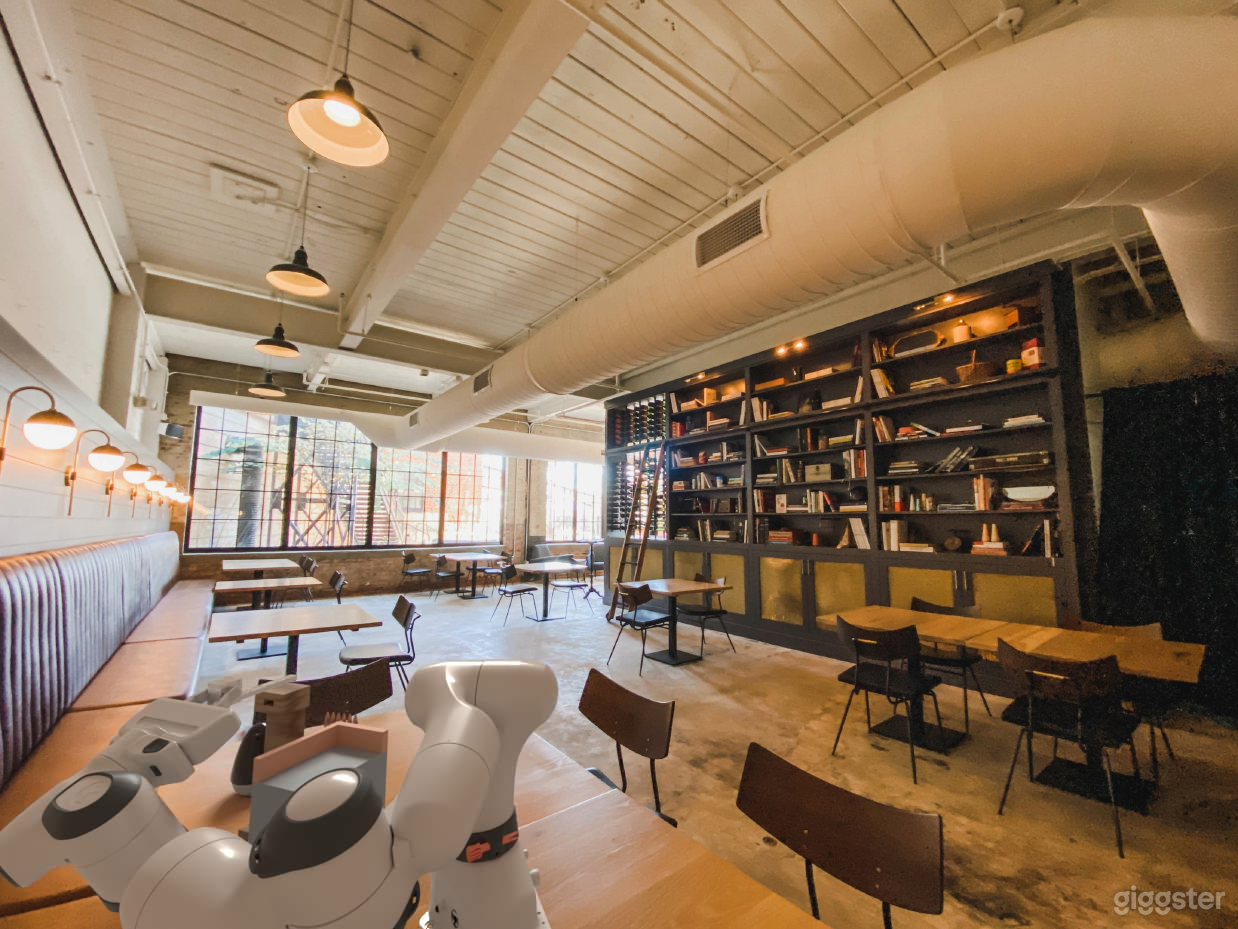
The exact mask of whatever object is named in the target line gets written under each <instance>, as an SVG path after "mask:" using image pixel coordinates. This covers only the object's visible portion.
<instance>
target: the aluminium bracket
mask: <svg viewBox="0 0 1238 929" xmlns="http://www.w3.org/2000/svg"><path fill="white" fill-rule="evenodd" d="M296 680H298V675H296V674H287V675H284V676H282V677H278V678H277V679H273V680H270V681H267V682H265V683H261V684H259V685H257V686H253V687H250V688H247V689H245V690H243V678H242V677H235V676H227V677H223V678H220V679H217V680H214V681H210V682H208V683H207V687H208V695H207V701H206V705H212V704H213V703H215V702H216V701H217V702H219V701H220V699H221V698H222V697H223V696H224V695H223V694H222V693H223V692H224V691H226V690H227V689H228V688H229V687H238V688H239V690H240V691H241V694H240V696H239V697H237V698H236V699H235V700H234V701H233V702H232V704H231V706H233V705H235V704H239V703H240V702H243V700H245V699H247V698H250V697H253V696H255V695H256V694H259V693H261V692H264V691H267V690H270V689H272V688H275V687H278V686H281V685H283V684H286V683H292V682H294V681H296Z"/></svg>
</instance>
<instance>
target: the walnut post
mask: <svg viewBox="0 0 1238 929" xmlns="http://www.w3.org/2000/svg"><path fill="white" fill-rule="evenodd" d="M310 699H311V685H308V684H300V683H294V682H289V683H286V684H283V685H281V686H278V687H275V688H272V689H270V690H267V691H264V692H261V693H259V694H256V695H254V706H253V712H256V713H261V714H262V713H263V714H266V719H265V722H266V731H265V745H264V753H267V752H269V751H271V750H273V749H276V748H278V747H280V746H283V745H285V744H287V743H290V742H292V741H294V740H296V739H299V738H301V737H303V736H305V725H306V724H305V723H306V708H308V707H309V706H310ZM248 835H249V823H248V824H245V825H244V826H243V827H241V828H239V829H238V831H237V836H239V837H241V838H242V839H244V840H245V841H247V840H248Z"/></svg>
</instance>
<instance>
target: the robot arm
mask: <svg viewBox="0 0 1238 929" xmlns="http://www.w3.org/2000/svg"><path fill="white" fill-rule="evenodd" d="M556 676H557V675H555V673H554V670H553V669H552V668H551V666H550V665H549V664H547V663H544V662H540V661H537V660H532V659H531V660H530V659H525V658H501V659H499V658H495V659H494V658H493V659H488V658H487V659H455V660H454V659H449V660H448V659H447V660H443V661H439V662H434V663H430V664H426V665H422V666H420V667H419V668H418V669H417V670H416V671H415V672H414V673H413V674H412V676H411V678H410V680H409V682H408V683H407V685H406V689H405V693H404V709H405V712H406V715H407V717H408V720H409V721H410V722H411V723H412V725H414V726H416V727H418V728H419V729H420V730H421V731H423V732H424V736H423V738H422V741H421V743H420V746H419V748H418V750H417V752H416V754H415V756H414V758H413V760H412V762H411V764H410V766H409V767H408V768H409V769H408V770H407V771H406V772H407V773H406V775H405V777H404V778H403V781H402V784H401V786H400V789H399V792H398V793H397V794H396V796H395V797H394V799H392V800H391V801H390V803H389V804H388V805H387V806H385V809H383V797H382V795H381V792H380V790H379V788H378V786H377V784H376V783H375V781H374V780H373V778H372V777H371V775H370V774H369V773H368V772H367V771H365V770H364V769H361V768H348V767H344V768H337V769H333V770H329V771H326V772H324V773H321V774H319V775H317V776H315V777H313V778H312V779H310V780H308V781H307V782H305V783H304V784H302V785H301V786H300V787H299V788H297V789H296V790H295V791H294V792H293V793H292V794H291V795H290V796H289V797H288V798H287V799H286V800H285V802H284V803H283V804H282V805H281V806H280V807H279V808H278V810H277V811H276V812H275V813H274V815H273V816H272V818H271V819H270V821H269V823H268V824H267V825H266V826H265V827H264V828H263V829H262V831H261V832H260V833H259V835H258V836H257V838H256V839H255V841H254V843H253V845H251V844H250V843H248V841H247V840H244V839H242V838H241V837H239V836H238V834H235V833H233V832H231V831H228V830H227V829H222V828H218V827H210V826H203V827H201V826H200V827H197V828H193V829H190V830H189V829H188V828H187V827H186V826H185V825H184V824H182V822H180V820H179V819H178V818H177V817H176V815H175V814H174V812H173V811H172V809H171V808H170V807H169V806H168V804H167V803H166V802H165V801H164V799H163V798H162V797H161V796H160V794H159V793H158V791H157V790H156V789H157V788H159V787H162V786H168V785H174V784H180V783H183V782H185V781H187V780H188V779H189V778H190V777H191V776H192V775H193V774H194V773H195V771H196V769H195V767H194V766H197V765H200V764H202V763H204V762H205V761H206V760H208V759H209V758H210V757H212V756H213V755H214V754H216V753H217V752H218V750H220V749H221V748H222V747H223V746H224V745H225V744H226V743H227V742H228V741H230V740H231V739H232V738H233V737H234V736H235V735H236V734H237V732H239V730H240V727H241V726H242V721H241V719H240V717H239V715H238V713H237V712H236V711H235V709H233V708H230V707H231V706H232V705H231V704H232V702H233V701H234V700H235V699H236V698H237V697H239V696H240V694H241V691H240V690H239V688H238V687H229V688H228V689H227V690H226V691H224V692H223V693H222V694H223V695H224V696H223V697H222V698H221V699H220V701H219V702H217V701H216V702H215V703H213V704H212V705H207V704H205V703H207V695H208V686H206V688H205V689H203V690H201V691H199V692H196V693H194V694H192V695H190V696H188V697H187V698H185V699H184V700H181V699H175V698H170V697H159V698H157V699H155V700H152V701H151V702H150V703H149V704H147V705H146V706H145V707H143V708H142V709H140V710H139V711H138V712H137V713H136V714H135V715H133V716H132V717H131V718H130V719H128V720H127V721H126V722H125V723H124V724H123V725H122V726H121V727H120V728H119V729H118V733H117V735H115V736H113V737H112V739H111V740H110V742H109V744H108V746H107V747H105V748H104V749H102V751H100V752H99V753H97V754H96V755H94V757H92V758H91V759H90V760H89V762H88V763H86V765H84V767H83V768H81V770H79V771H78V772H77V773H75V774H74V775H72V776H70V777H68V778H66V779H64V780H63V781H60V782H59V783H58V784H56V785H55V786H54V787H52V788H51V789H49V790H48V791H47V792H45V793H44V794H43V795H42V796H40V797H39V798H38V799H37V800H36V801H34V802H33V803H32V804H30V805H29V806H27V807H26V808H25V809H24V810H23V811H22V812H20V813H19V814H18V815H17V816H16V817H14V819H12V820H11V821H10V822H9V823H8V824H7V825H5V827H3V829H1V830H0V876H1V877H2V878H3V879H4V880H5V881H6V882H7V883H9V884H10V885H12V886H14V887H15V888H27V887H28V886H30V885H32V884H33V883H35V882H36V881H38V880H39V879H41V878H42V877H43V876H45V875H46V874H48V873H49V872H51V871H52V870H53V869H54V868H57V867H67V866H68V867H69V865H71V866H72V868H73V869H74V870H75V871H76V872H77V873H78V874H79V875H80V876H81V878H82V879H83V880H84V881H85V882H86V883H87V884H88V885H89V886H90V887H91V889H93V891H94V892H95V893H96V895H97V896H98V898H99V900H100V901H101V902H102V904H103V905H104V907H105V908H106V909H107V911H109V912H110V913H111V912H112V913H117V914H119V918H120V924H121V928H122V929H405V928H406V926H407V922H408V921H409V920H410V918H412V916H413V915H414V914H415V912H417V909H418V907H419V904H420V899H421V886H420V882H419V879H420V878H421V877H423V876H424V875H426V874H430V873H431V876H430V888H429V897H428V898H429V899H428V900H429V901H428V909H427V911H426V912H425V913H424V914H423V915H422V916H421V917H420V919H419V921H418V925H419V927H420V928H422V929H426V928H427V926H429V925H432V927H431V928H427V929H552V927H551V924H550V923H549V920H548V917H547V915H546V912H545V910H544V907H543V904H542V902H541V899H540V897H539V894H538V891H537V889H536V887H538V886H540V883H541V878H540V871H539V869H538V868H532V869H530V868H529V865H528V861H527V859H529V850H528V849H527V848H525V849H523V846H522V843H521V839H520V834H519V832H520V831H519V827H518V826H519V822H518V821H519V820H518V815H517V811H516V810H517V808H516V805H515V799H514V798H515V782H516V771H517V765H518V761H519V757H520V755H521V752H522V750H523V748H524V746H525V744H526V742H527V741H528V739H529V738H530V737H531V735H533V733H534V732H535V731H536V730H537V729H538V728H539V727H541V726H542V725H543V724H545V723H546V722H547V721H548V720H549V718H550V717H551V716H552V714H553V713H554V710H555V708H556V706H557V704H558V699H559V685H558V679H557V677H556ZM258 845H259V848H258V849H256V847H257V846H258ZM414 898H415V902H414Z"/></svg>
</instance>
